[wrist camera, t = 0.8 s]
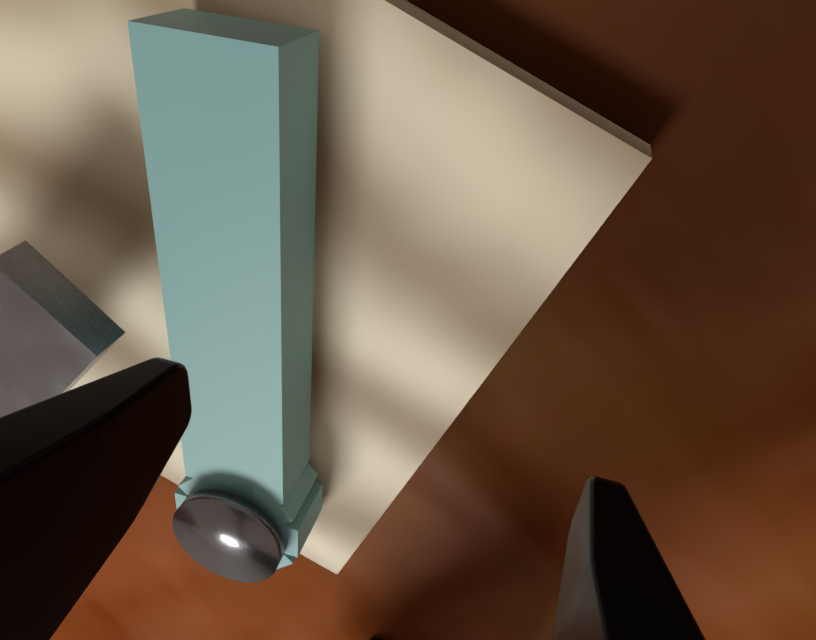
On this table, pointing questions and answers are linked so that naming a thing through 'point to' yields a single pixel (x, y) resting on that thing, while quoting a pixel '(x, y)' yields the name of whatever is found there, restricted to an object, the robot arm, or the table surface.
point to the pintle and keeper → (68, 362)
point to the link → (237, 247)
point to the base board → (328, 214)
